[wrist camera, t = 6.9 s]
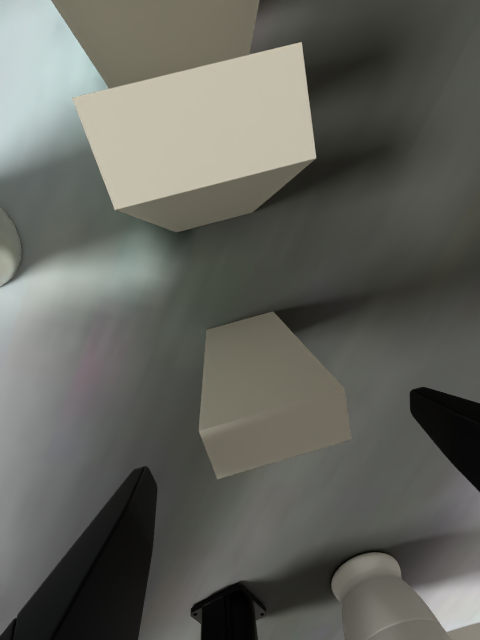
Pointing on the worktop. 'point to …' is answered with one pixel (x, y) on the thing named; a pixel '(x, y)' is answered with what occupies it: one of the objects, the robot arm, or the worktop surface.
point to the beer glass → (8, 248)
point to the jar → (382, 602)
